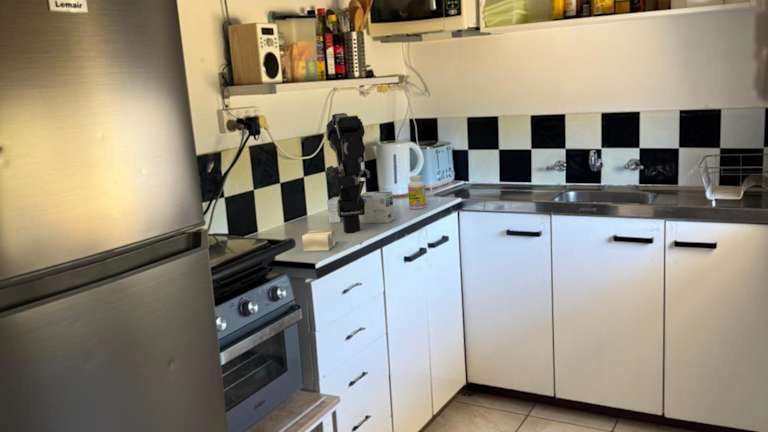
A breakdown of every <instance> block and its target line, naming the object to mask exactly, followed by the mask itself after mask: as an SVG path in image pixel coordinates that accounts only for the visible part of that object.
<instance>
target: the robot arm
mask: <svg viewBox="0 0 768 432" xmlns="http://www.w3.org/2000/svg"><path fill="white" fill-rule="evenodd" d="M361 120H362V119H361V118H359V116H358V115H348V114H347V113H345V112H341V113H339V112H338V113H333V114H332V115H331V119H330V120H329V122H328V123H327V124H326V131H325V132H326V133H325V134H326V135H325V136H326V140H327V141H328V142H329V147H330V149H331V150H332V151H334V153H335V157H336V162H337V163H336V164H337V166H334V165H330V166H328V167H326V170H325V177H327V178H328V180H329V181H331V180H334V179H335V186H336V187H341V189H340V192H339V195H338V197H339V200H338V204H337V213H338V216H339V218H341V217H343V221H342V224H343V233H344V234H346V235H347V234H355V233H358V232H361V231H364V229H361V222H360V221H361V220H360V216H361V215H364V214H365V201H364V200H363V198H362V197H361V194H362V191H363V189H364V186H365V183H366V180H362V179H363V178H365V179H369V178H371V175H370V174H371V172H370V171H369V170H368V169H366V168H365V169H363V168H362V161H363V157H362V156H363V155H364V154H365V151H366V146H365V143H364V142H363V141H362V140H360V138H364V137H365V132H366V131H365V128H364V123H363V122H362V121H361ZM341 212H343V213H341Z"/></svg>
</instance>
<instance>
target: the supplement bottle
mask: <svg viewBox="0 0 768 432" xmlns="http://www.w3.org/2000/svg"><path fill="white" fill-rule="evenodd" d="M422 179H423V178H422V175H421V174H420V175H418V174H417V175H410V176H409V180H410V181H409V183H408V184H407V190H408V191H407V192H408V206H409V207H408V208H409V209H410V210H422V208H423V209H425V208H426V207H427V202H426V187H425V183H424V181H422Z"/></svg>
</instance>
